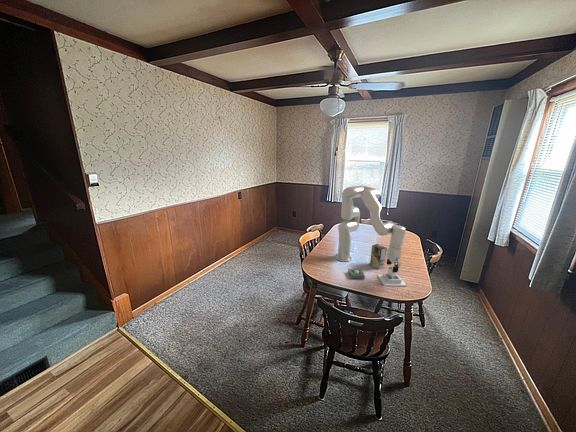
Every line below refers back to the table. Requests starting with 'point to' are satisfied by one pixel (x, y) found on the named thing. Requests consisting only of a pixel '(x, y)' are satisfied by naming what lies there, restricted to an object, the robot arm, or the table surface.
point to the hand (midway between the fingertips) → (391, 268)
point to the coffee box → (378, 256)
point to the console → (356, 276)
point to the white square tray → (391, 280)
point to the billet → (391, 273)
